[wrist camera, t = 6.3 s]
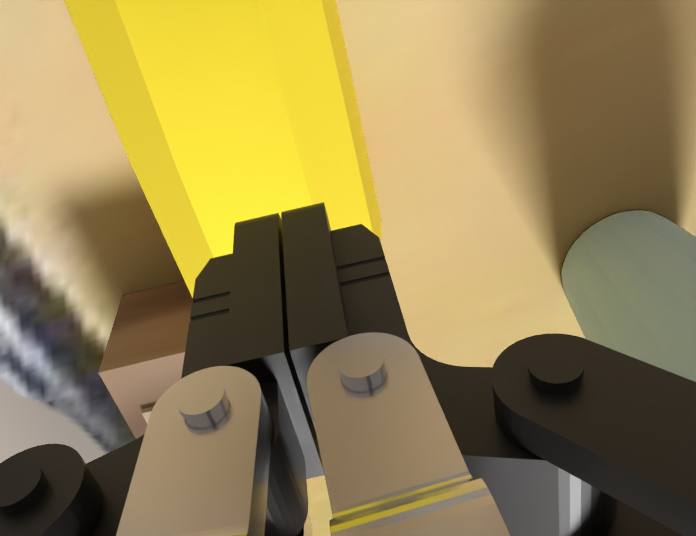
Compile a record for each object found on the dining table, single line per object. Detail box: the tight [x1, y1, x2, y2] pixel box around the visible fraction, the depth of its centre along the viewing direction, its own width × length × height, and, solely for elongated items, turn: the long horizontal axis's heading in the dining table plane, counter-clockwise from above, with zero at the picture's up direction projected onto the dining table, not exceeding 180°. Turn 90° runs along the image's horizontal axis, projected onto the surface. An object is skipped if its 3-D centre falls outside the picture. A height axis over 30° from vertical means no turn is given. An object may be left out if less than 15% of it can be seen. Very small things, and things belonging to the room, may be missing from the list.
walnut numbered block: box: [99, 280, 193, 439], centre depth 27 cm, size 5×5×5 cm
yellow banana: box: [65, 0, 381, 298], centre depth 21 cm, size 18×7×8 cm
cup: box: [561, 210, 696, 382], centre depth 25 cm, size 8×8×10 cm
